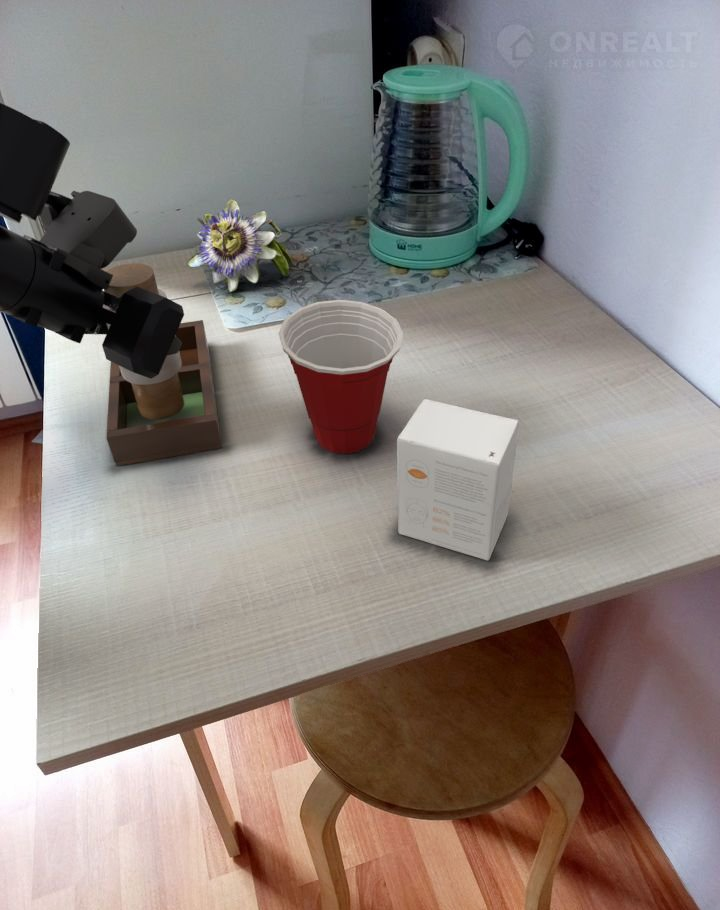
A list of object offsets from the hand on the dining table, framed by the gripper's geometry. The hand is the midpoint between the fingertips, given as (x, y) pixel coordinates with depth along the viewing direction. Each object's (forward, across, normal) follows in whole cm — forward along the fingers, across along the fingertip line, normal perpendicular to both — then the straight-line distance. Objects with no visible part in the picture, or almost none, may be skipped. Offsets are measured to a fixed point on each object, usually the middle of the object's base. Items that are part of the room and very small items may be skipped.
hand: (157, 338), depth 65 cm
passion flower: (+26, +16, -12) cm, 33 cm away
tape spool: (+4, 0, +6) cm, 7 cm away
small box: (+9, -30, +5) cm, 32 cm away
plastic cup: (+12, -16, +2) cm, 20 cm away
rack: (+8, +4, +6) cm, 10 cm away
